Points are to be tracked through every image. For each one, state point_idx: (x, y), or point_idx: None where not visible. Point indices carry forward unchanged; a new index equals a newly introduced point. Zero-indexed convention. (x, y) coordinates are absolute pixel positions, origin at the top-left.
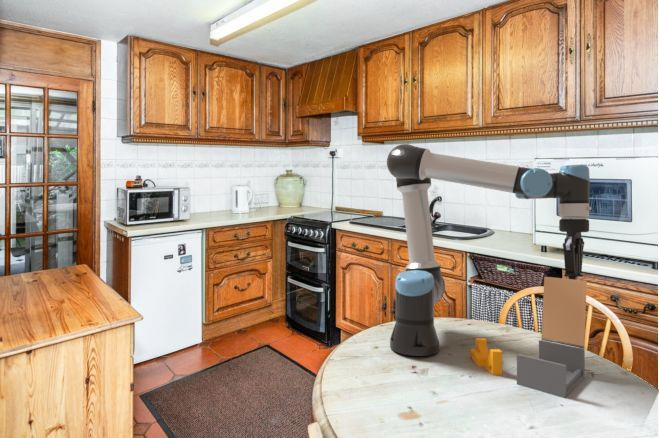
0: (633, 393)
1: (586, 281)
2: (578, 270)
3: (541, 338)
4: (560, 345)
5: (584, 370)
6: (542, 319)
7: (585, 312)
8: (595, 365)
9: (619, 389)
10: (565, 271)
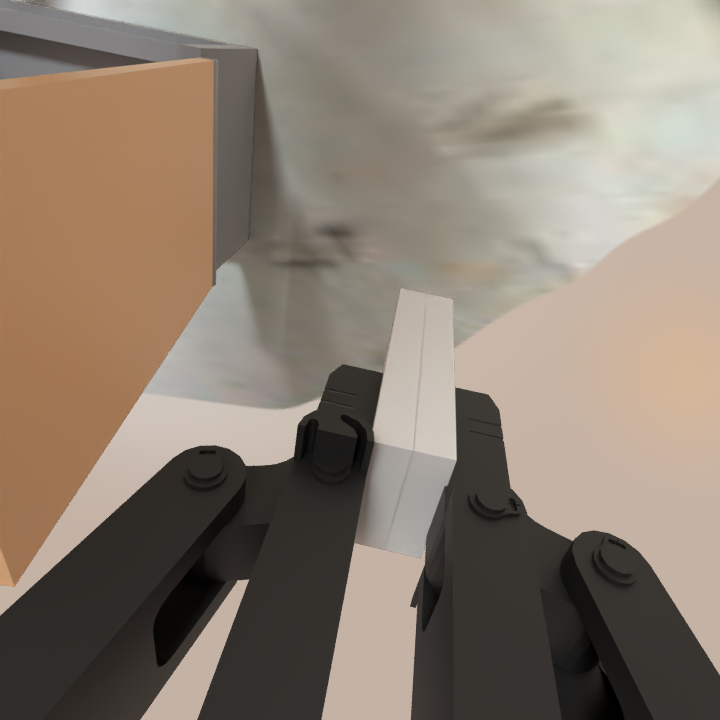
0: (211, 364)
1: (7, 577)
2: (419, 647)
3: (198, 57)
4: None
5: (237, 248)
6: (154, 63)
7: (145, 382)
8: (425, 276)
9: (215, 334)
10: (141, 490)
